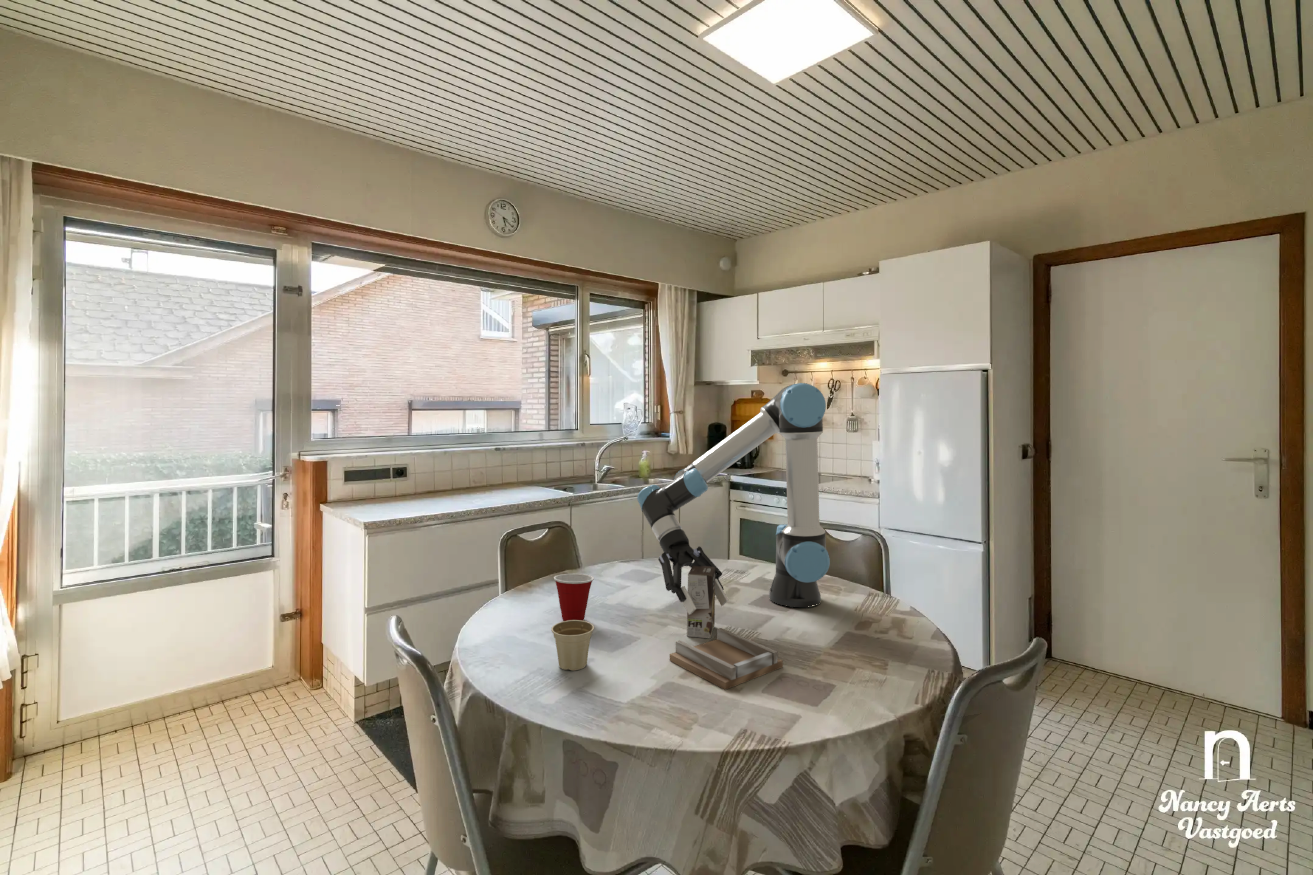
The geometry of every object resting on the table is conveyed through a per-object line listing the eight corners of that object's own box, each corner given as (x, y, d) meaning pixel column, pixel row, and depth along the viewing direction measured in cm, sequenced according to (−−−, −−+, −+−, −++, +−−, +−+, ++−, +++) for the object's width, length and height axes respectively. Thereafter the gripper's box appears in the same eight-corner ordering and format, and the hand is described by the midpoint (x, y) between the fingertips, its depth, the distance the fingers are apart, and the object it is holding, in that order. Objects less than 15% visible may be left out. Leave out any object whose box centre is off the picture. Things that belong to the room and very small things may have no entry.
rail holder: (725, 642, 151) (726, 626, 150) (782, 667, 136) (783, 649, 136) (669, 660, 139) (669, 643, 139) (725, 689, 125) (725, 670, 125)
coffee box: (711, 639, 153) (712, 575, 152) (686, 636, 154) (687, 573, 153) (715, 626, 161) (716, 566, 161) (691, 624, 163) (692, 564, 162)
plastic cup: (600, 615, 169) (600, 572, 168) (583, 629, 158) (583, 583, 158) (565, 611, 172) (565, 569, 171) (546, 623, 162) (546, 579, 161)
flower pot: (575, 678, 130) (575, 638, 129) (542, 667, 135) (542, 629, 134) (602, 662, 138) (602, 625, 137) (570, 653, 143) (570, 617, 142)
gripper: (695, 538, 176) (733, 605, 164) (630, 549, 162) (667, 624, 150) (708, 523, 171) (748, 591, 160) (643, 532, 157) (681, 608, 146)
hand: (709, 607), depth 155 cm, fingers closed on coffee box, 11 cm apart
